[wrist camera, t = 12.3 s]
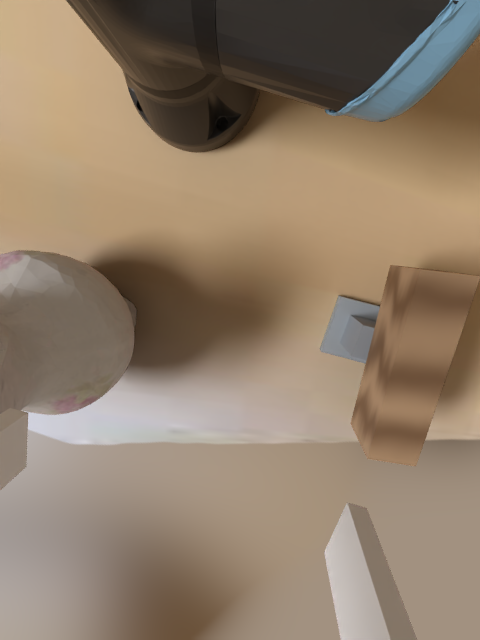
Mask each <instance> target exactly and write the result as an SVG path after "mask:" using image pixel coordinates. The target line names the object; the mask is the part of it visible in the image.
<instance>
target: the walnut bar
mask: <svg viewBox="0 0 480 640" xmlns="http://www.w3.org/2000/svg"><path fill="white" fill-rule="evenodd" d="M479 280H480V276H476V275H469V274H461V273H453V272H446V271H438V270H429V269H420V268H412V267H403V266H394V265H390V269H389V273H388V277H387V281H386V285H385V289H384V293H383V297H382V301H381V305H380V309H379V313H378V317H377V321H376V325H375V329H374V333H373V337H372V341H371V345H370V349H369V353H368V357H367V361H366V365H365V369H364V373H363V377H362V380H361V384H360V388H359V392H358V396H357V400H356V404H355V408H354V412H353V416H352V420H351V425H352V427H353V430H354V432H355V434H356V436H357V438H358V440H359V442H360V444H361V446H362V448H363V451H364V453H365V455H366V456H367V459H372V460H378V461H384V462H391V463H397V464H404V465H410V466H416V465H417V462H418V459H419V456H420V453H421V450H422V447H423V444H424V441H425V438H426V435H427V432H428V430H429V427H430V424H431V421H432V418H433V415H434V412H435V409H436V406H437V403H438V400H439V397H440V394H441V391H442V389H443V386H444V383H445V380H446V377H447V374H448V371H449V368H450V365H451V362H452V359H453V356H454V353H455V350H456V348H457V345H458V342H459V339H460V336H461V333H462V330H463V327H464V324H465V321H466V318H467V315H468V312H469V309H470V306H471V304H472V301H473V298H474V295H475V292H476V289H477V286H478V283H479Z"/></svg>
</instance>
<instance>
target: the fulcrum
mask: <svg viewBox="0 0 480 640" xmlns="http://www.w3.org/2000/svg"><path fill="white" fill-rule="evenodd" d="M379 309H380V306H378V305H374V304H370V303H366V302H362V301H358V300H355V299H351V298H347V297H343V296H338V299H337V302H336V305H335V308H334V310H333V313H332V316H331V319H330V322H329V324H328V327H327V330H326V333H325V336H324V339H323V341H322V344H321V347H320V350H321V352H325V353H328V354H332V355H336V356H340V357H343V358H347V359H351V360H355V361H358V362H362V363H366V361H367V357H368V353H369V349H370V345H371V341H372V337H373V333H374V329H375V325H376V321H377V317H378V313H379Z"/></svg>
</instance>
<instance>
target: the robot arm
mask: <svg viewBox="0 0 480 640" xmlns="http://www.w3.org/2000/svg"><path fill="white" fill-rule="evenodd" d="M66 1H67V2H68V3H69V5H70V6H71V7H72V8H73V9H74V11H75V12H76V13H77V14H78V16H79V17H80V18H81V19H82V20H83V22H84V23H85V24H86V25H87V27H88V28H89V29H90V30H91V31H92V33H93V34H94V35H95V36H96V38H97V39H98V40H99V41H100V42H101V44H102V45H103V46H104V47H105V49H106V50H107V51H108V52H109V53H110V55H111V56H112V57H113V58H114V60H115V61H116V62H117V63H118V64H119V66H120V67H121V68H122V70H123V73H124V76H125V79H126V83H127V86H128V89H129V92H130V95H131V98H132V100H133V103H134V105H135V107H136V109H137V110H138V112H139V114H140V115H141V117H142V118H143V120H144V121H145V122H146V124H147V125H148V126H149V127H150V128H151V129H152V130H153V131H154V132H155V133H156V134H157V135H158V136H159V137H160V138H161V139H162V140H164V141H165V142H167V143H168V144H170V145H172V146H174V147H176V148H178V149H181V150H185V151H190V152H203V151H209V150H213V149H216V148H218V147H220V146H222V145H224V144H226V143H227V142H229V141H230V140H232V139H233V138H234V137H235V136H236V135H237V134H238V133H239V132H240V131H241V130H242V129H243V127H244V126H245V125H246V123H247V122H248V120H249V118H250V117H251V115H252V113H253V111H254V108H255V106H256V103H257V100H258V96H259V91H260V90H263V91H267V92H270V93H273V94H276V95H280V96H283V97H286V98H290V99H293V100H296V101H299V102H303V103H306V104H309V105H313V106H316V107H319V108H322V109H325V111H326V113H327V114H329V115H332V116H340V115H346V116H351V117H355V118H359V119H363V120H367V121H371V122H382V121H385V120H387V119H390V118H392V117H396V116H398V115H401V114H402V113H404V112H405V111H407V110H408V109H410V108H411V107H412V106H414V105H415V104H416V103H417V102H418V101H420V100H421V99H422V98H423V97H424V96H425V95H426V94H427V93H428V92H430V91H431V90H432V89H433V88H434V87H435V86H436V85H437V83H438V82H439V81H440V80H441V79H442V78H443V77H444V76H445V75H446V74H447V73H448V72H449V70H450V69H451V68H452V67H453V66H454V65H455V64H456V62H457V61H458V60H459V59H460V58H461V57H462V55H463V54H464V53H465V52H466V50H467V49H468V48H469V47H470V45H471V44H472V43H473V42H474V41H475V39H476V38H477V37H478V35H479V34H480V0H66ZM27 430H28V413H27V412H23V411H20V410H16V409H13V408H9V409H7V410H6V411H4V412H2V413H1V414H0V490H1V489H2V488H3V487H5V486H6V485H7V484H8V483H9V482H10V481H11V480H12V479H13V478H14V477H16V476H17V475H18V474H19V473H20V472H21V471H22V470H23V469H24V468H25V467H26V459H27V456H26V455H27ZM325 558H326V564H327V569H328V574H329V579H330V584H331V590H332V595H333V601H334V606H335V611H336V616H337V621H338V627H339V632H340V638H341V640H417V638H416V635H415V633H414V630H413V628H412V625H411V622H410V620H409V617H408V614H407V612H406V609H405V607H404V604H403V601H402V599H401V596H400V594H399V591H398V588H397V586H396V584H395V581H394V578H393V575H392V573H391V570H390V568H389V565H388V562H387V560H386V557H385V555H384V552H383V549H382V547H381V544H380V542H379V539H378V536H377V534H376V531H375V528H374V526H373V524H372V521H371V518H370V516H369V513H368V510H367V508H365V507H361V506H358V505H354V504H351V503H347V504H346V506H345V509H344V511H343V513H342V515H341V517H340V520H339V522H338V524H337V526H336V528H335V530H334V533H333V535H332V537H331V539H330V541H329V543H328V545H327V548H326V550H325Z"/></svg>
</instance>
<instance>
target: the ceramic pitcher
mask: <svg viewBox="0 0 480 640" xmlns="http://www.w3.org/2000/svg"><path fill="white" fill-rule="evenodd" d="M136 315H137V309H136V308H135V306H134V305H133V303H132V302H130V301H129V300H127V299H126V298H124V297H123V296H121V294H120V293H119V291H118V290H117V289H116V288H115V286H114V285H113V284H112V283H111V282H110V281H109V280H108V279H107V278H106V277H105V276H104V275H102V274H101V273H99V272H98V271H97V270H95V269H94V268H92V267H91V266H89V265H88V264H85V263H83V262H80V261H78V260H75V259H73V258H70V257H67V256H63V255H60V254H56V253H49V252H40V251H13V252H9V253H5V254H1V255H0V414H1V413H2V412H4V411H6V410H7V409H9V408H13V409H16V410H20V411H21V410H22V411H27V412H33V413H39V414H47V415H57V414H64V413H69V412H73V411H76V410H79V409H81V408H83V407H85V406H87V405H89V404H91V403H93V402H95V401H96V400H98V399H99V398H100V397H102V396H103V395H104V394H105V393H107V392H108V391H109V390H110V389H111V388H112V387H113V386H114V385H115V384H116V383H117V382H118V381H119V379H120V378H121V377H122V375H123V374H124V372H125V371H126V369H127V367H128V365H129V362H130V360H131V357H132V354H133V349H134V327H135V326H136Z"/></svg>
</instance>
